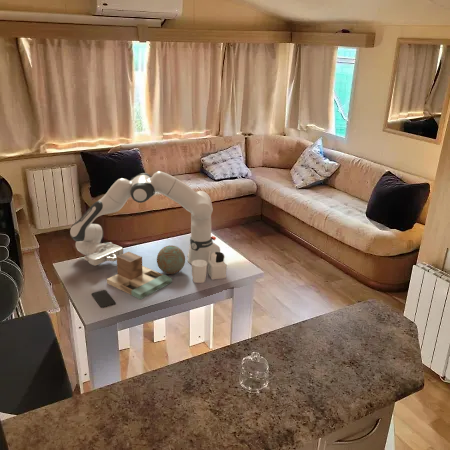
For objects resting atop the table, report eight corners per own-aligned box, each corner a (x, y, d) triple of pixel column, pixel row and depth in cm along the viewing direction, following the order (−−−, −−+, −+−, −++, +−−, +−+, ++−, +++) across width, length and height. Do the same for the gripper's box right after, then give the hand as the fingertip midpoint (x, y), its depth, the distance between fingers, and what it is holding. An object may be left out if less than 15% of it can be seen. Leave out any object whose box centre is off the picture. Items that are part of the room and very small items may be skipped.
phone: (105, 289, 229) (116, 303, 218) (105, 290, 229) (116, 304, 218) (90, 293, 225) (101, 307, 214) (90, 294, 226) (101, 308, 214)
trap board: (139, 268, 252) (139, 264, 251) (171, 282, 239) (171, 278, 238) (107, 283, 236) (106, 278, 235) (140, 299, 223) (140, 294, 222)
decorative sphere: (171, 281, 240) (171, 255, 234) (151, 272, 248) (150, 247, 242) (190, 271, 251) (191, 246, 245) (170, 263, 259) (170, 238, 254)
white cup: (203, 285, 238) (203, 267, 234) (189, 282, 240) (189, 264, 236) (208, 278, 245) (209, 261, 241) (195, 275, 247) (195, 258, 243)
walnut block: (129, 268, 246) (128, 251, 242) (142, 274, 241) (142, 257, 237) (117, 274, 240) (116, 256, 236) (130, 280, 235) (130, 262, 231)
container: (221, 271, 252) (222, 249, 247) (226, 278, 246) (227, 256, 241) (207, 273, 250) (208, 251, 245) (212, 280, 243) (212, 257, 238)
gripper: (82, 252, 243) (99, 260, 235) (112, 241, 258) (129, 248, 251) (83, 263, 245) (100, 271, 238) (113, 251, 261) (130, 258, 253)
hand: (115, 259), depth 244 cm, fingers closed
